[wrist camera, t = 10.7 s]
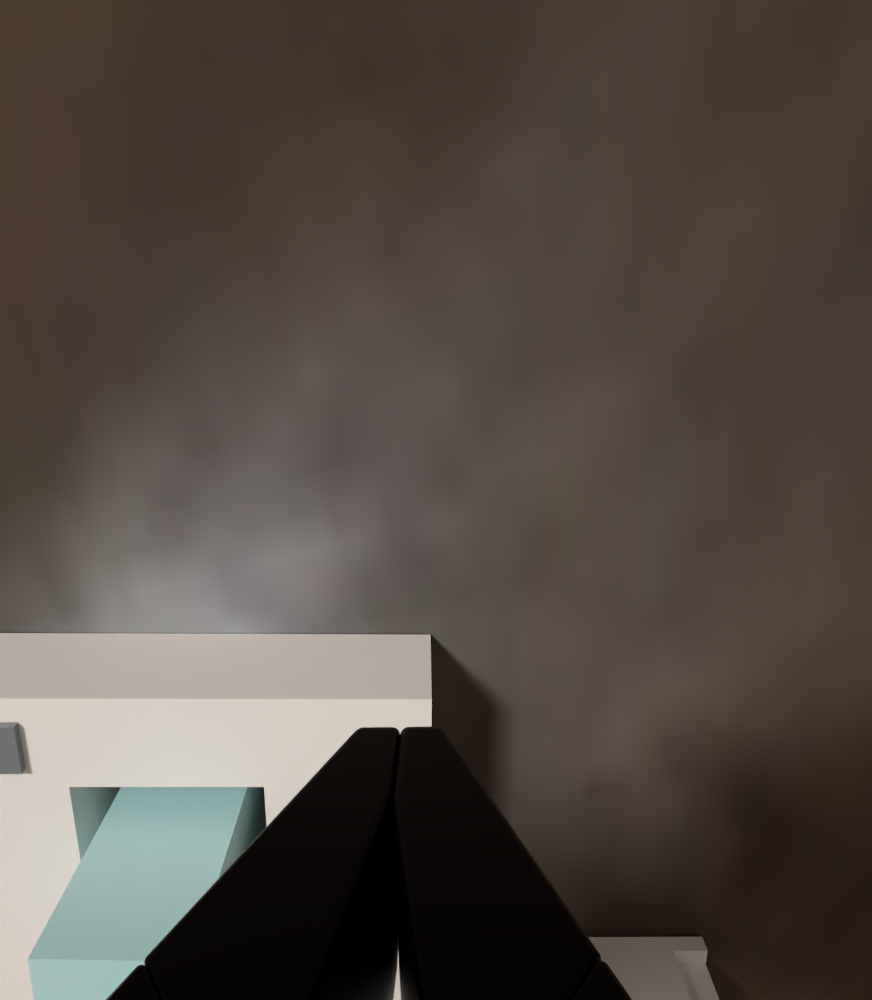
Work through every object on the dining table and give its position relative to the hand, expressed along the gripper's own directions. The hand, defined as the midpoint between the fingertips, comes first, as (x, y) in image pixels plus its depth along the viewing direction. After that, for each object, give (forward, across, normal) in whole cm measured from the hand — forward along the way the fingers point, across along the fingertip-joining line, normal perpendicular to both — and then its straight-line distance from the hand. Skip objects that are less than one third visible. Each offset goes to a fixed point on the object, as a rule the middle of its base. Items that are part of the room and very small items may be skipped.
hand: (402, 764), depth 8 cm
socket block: (+12, +6, +10) cm, 16 cm away
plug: (+12, +6, +10) cm, 16 cm away
